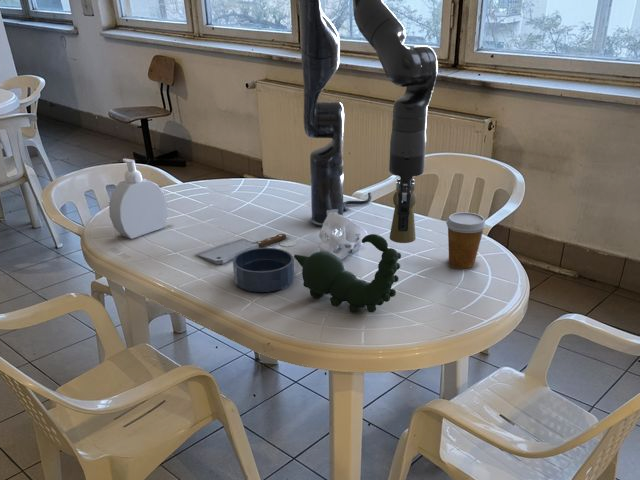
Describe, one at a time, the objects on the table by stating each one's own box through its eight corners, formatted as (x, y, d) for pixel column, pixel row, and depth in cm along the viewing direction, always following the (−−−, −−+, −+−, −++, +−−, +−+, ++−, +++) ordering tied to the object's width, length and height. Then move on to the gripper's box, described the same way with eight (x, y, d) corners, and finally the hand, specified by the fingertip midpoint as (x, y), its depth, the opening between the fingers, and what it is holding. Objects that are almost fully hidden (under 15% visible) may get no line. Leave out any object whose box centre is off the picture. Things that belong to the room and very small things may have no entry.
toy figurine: (398, 313, 137) (303, 280, 146) (410, 234, 126) (307, 204, 135) (379, 332, 130) (281, 296, 139) (390, 250, 119) (283, 217, 129)
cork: (387, 233, 144) (389, 187, 138) (412, 232, 145) (416, 186, 139) (391, 243, 139) (393, 196, 133) (418, 242, 139) (421, 195, 133)
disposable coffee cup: (483, 259, 158) (489, 214, 152) (477, 274, 150) (483, 227, 144) (446, 254, 161) (450, 209, 154) (439, 268, 153) (443, 222, 147)
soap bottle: (159, 221, 182) (148, 152, 171) (171, 225, 179) (160, 155, 168) (112, 237, 171) (97, 165, 160) (124, 242, 168) (109, 168, 158)
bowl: (243, 266, 154) (241, 246, 151) (299, 269, 153) (298, 249, 150) (227, 292, 142) (225, 270, 139) (287, 295, 141) (286, 273, 138)
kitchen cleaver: (269, 228, 174) (291, 236, 168) (270, 232, 175) (292, 240, 168) (195, 252, 160) (216, 262, 154) (195, 256, 161) (216, 266, 154)
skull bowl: (300, 252, 158) (318, 206, 157) (334, 265, 169) (350, 223, 168) (329, 263, 152) (347, 216, 150) (361, 277, 163) (379, 233, 161)
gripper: (391, 141, 137) (388, 215, 147) (387, 159, 125) (384, 238, 135) (425, 142, 136) (420, 216, 146) (425, 160, 125) (419, 239, 134)
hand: (403, 226), depth 140 cm, fingers closed on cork, 4 cm apart
